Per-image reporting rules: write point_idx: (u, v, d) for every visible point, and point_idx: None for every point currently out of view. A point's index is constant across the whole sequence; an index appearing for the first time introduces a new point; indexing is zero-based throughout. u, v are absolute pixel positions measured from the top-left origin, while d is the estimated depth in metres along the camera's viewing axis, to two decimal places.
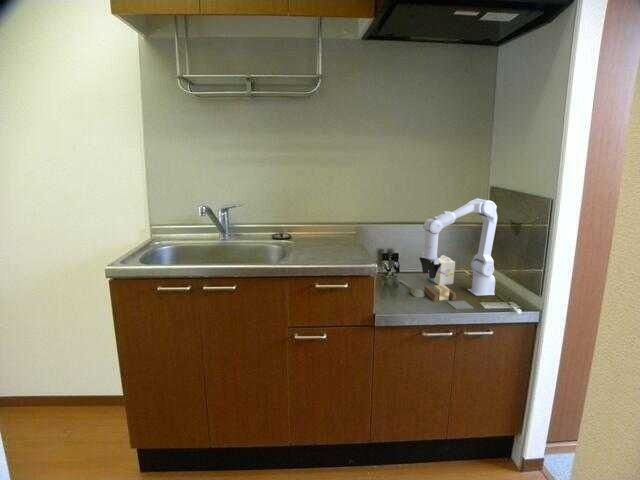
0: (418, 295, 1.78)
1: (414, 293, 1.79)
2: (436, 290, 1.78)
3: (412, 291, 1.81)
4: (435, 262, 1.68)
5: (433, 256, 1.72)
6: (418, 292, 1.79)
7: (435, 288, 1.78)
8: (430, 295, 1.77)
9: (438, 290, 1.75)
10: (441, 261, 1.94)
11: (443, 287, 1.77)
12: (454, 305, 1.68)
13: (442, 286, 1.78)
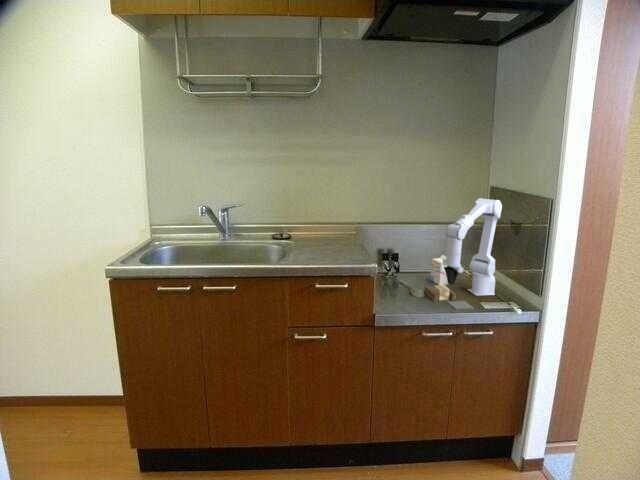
0: (418, 295, 1.79)
1: (414, 293, 1.80)
2: (436, 290, 1.78)
3: (412, 291, 1.81)
4: (459, 270, 1.59)
5: (456, 264, 1.63)
6: (417, 292, 1.80)
7: (435, 288, 1.78)
8: (430, 295, 1.77)
9: (438, 290, 1.75)
10: (441, 261, 1.94)
11: (443, 287, 1.77)
12: (454, 305, 1.68)
13: (442, 286, 1.78)
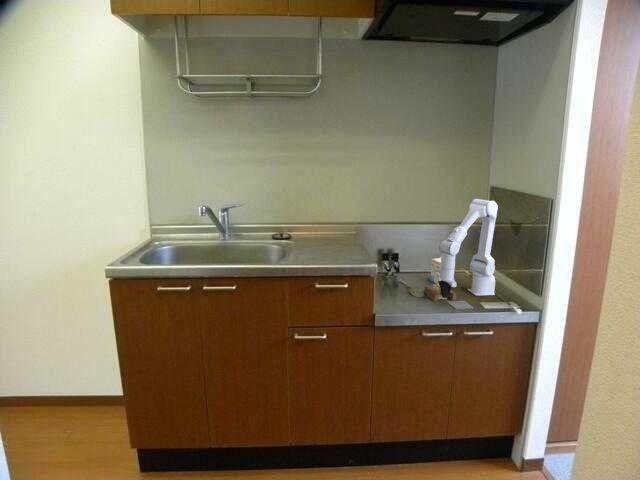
0: (417, 294, 1.79)
1: (413, 292, 1.80)
2: (435, 289, 1.79)
3: (411, 290, 1.82)
4: (452, 285, 1.65)
5: (450, 278, 1.69)
6: (417, 292, 1.80)
7: (434, 287, 1.79)
8: (430, 295, 1.77)
9: (437, 289, 1.76)
10: None
11: None
12: (454, 305, 1.68)
13: None
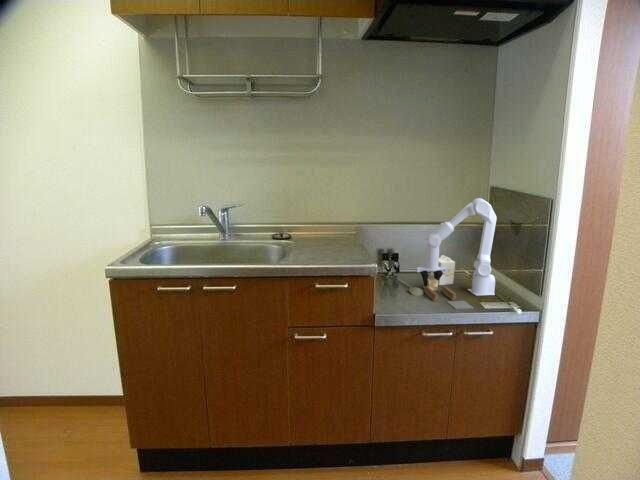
0: (416, 293, 1.80)
1: (412, 292, 1.81)
2: None
3: (411, 290, 1.83)
4: (416, 269, 1.87)
5: (426, 266, 1.86)
6: (416, 291, 1.81)
7: None
8: (430, 295, 1.77)
9: (427, 281, 1.87)
10: (441, 261, 1.94)
11: (432, 279, 1.88)
12: (454, 305, 1.68)
13: (431, 278, 1.89)
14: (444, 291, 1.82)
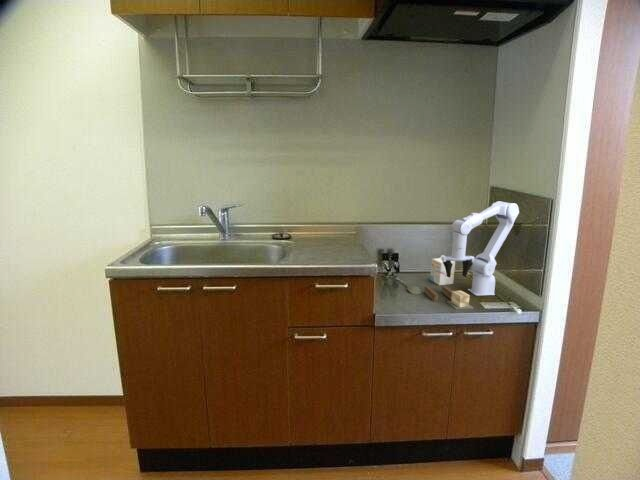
0: (415, 292, 1.82)
1: (411, 290, 1.83)
2: (455, 296, 1.68)
3: (409, 288, 1.85)
4: (442, 259, 1.76)
5: (452, 256, 1.75)
6: (415, 289, 1.84)
7: (453, 294, 1.69)
8: (430, 295, 1.77)
9: (458, 297, 1.66)
10: (441, 261, 1.94)
11: (462, 293, 1.68)
12: (454, 305, 1.68)
13: (460, 292, 1.69)
14: (444, 291, 1.82)
